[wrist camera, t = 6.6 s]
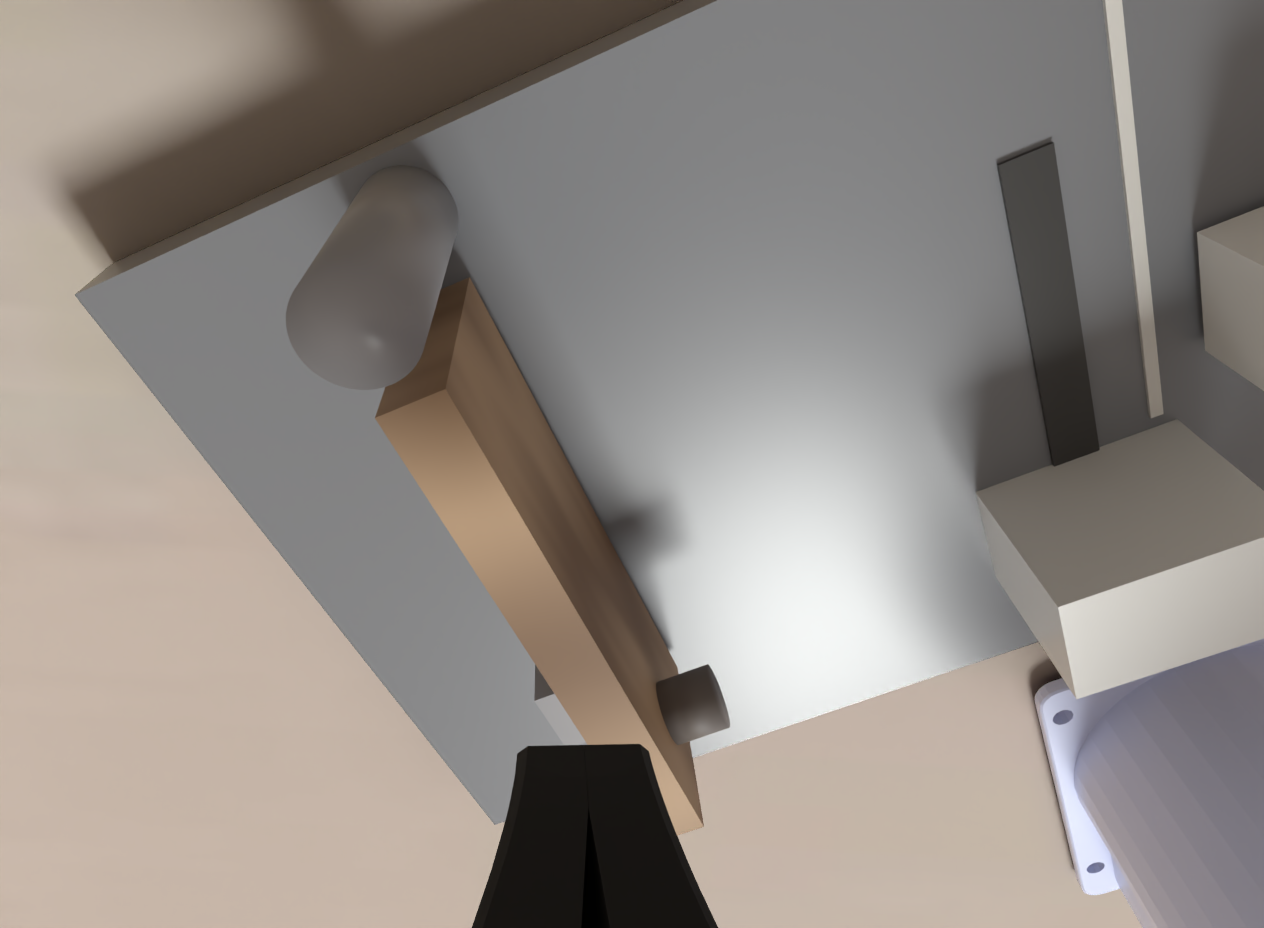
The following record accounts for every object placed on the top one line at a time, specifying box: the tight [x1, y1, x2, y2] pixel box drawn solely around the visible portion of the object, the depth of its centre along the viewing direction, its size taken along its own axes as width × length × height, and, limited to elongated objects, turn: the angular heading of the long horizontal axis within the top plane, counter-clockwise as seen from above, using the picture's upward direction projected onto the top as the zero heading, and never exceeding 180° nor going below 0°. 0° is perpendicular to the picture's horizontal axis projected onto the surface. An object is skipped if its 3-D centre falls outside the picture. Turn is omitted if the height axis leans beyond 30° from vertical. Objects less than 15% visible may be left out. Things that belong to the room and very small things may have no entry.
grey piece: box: [75, 0, 1264, 824], centre depth 16 cm, size 15×22×6 cm
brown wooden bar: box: [375, 277, 730, 835], centre depth 16 cm, size 10×2×4 cm, turn 22°
